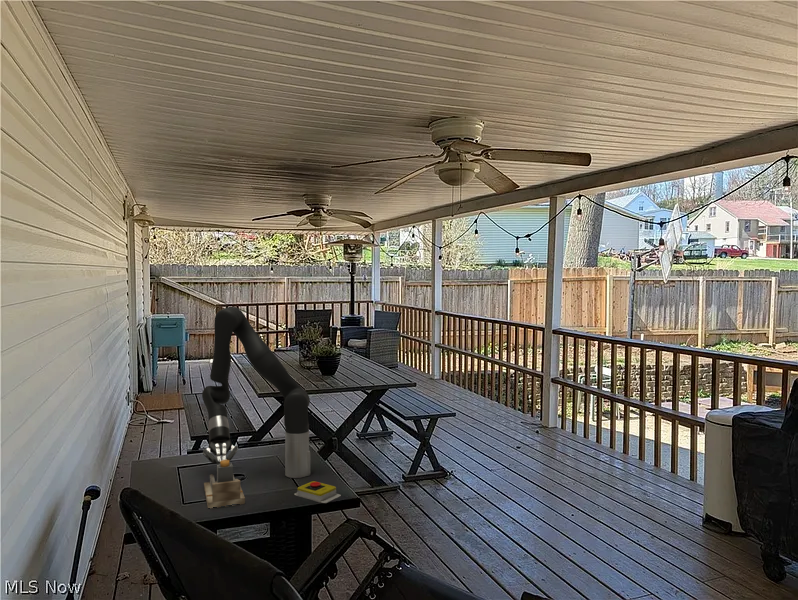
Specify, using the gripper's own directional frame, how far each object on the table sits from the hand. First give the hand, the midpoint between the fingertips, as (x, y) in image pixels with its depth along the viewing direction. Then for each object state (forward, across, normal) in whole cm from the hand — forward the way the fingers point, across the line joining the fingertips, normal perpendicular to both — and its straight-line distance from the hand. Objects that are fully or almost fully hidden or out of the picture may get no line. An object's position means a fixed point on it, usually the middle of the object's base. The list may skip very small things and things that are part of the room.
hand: (222, 472), depth 207 cm
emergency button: (+17, +31, -6) cm, 36 cm away
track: (+8, 0, +2) cm, 8 cm away
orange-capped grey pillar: (+10, 0, -4) cm, 11 cm away
